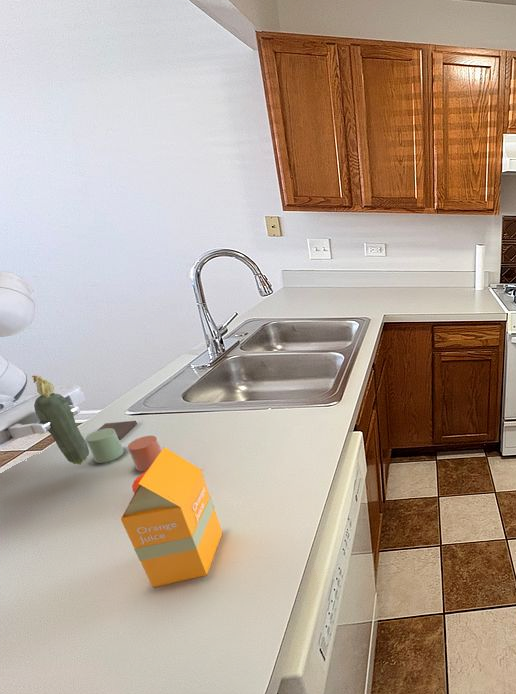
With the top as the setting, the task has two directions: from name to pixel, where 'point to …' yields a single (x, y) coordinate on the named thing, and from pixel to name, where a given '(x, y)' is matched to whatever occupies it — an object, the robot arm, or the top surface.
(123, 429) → the coaster
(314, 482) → the top surface
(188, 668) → the top surface
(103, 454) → the mint green cylinder
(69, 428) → the vegetable
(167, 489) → the orange juice
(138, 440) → the rust red cylinder
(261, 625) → the top surface
